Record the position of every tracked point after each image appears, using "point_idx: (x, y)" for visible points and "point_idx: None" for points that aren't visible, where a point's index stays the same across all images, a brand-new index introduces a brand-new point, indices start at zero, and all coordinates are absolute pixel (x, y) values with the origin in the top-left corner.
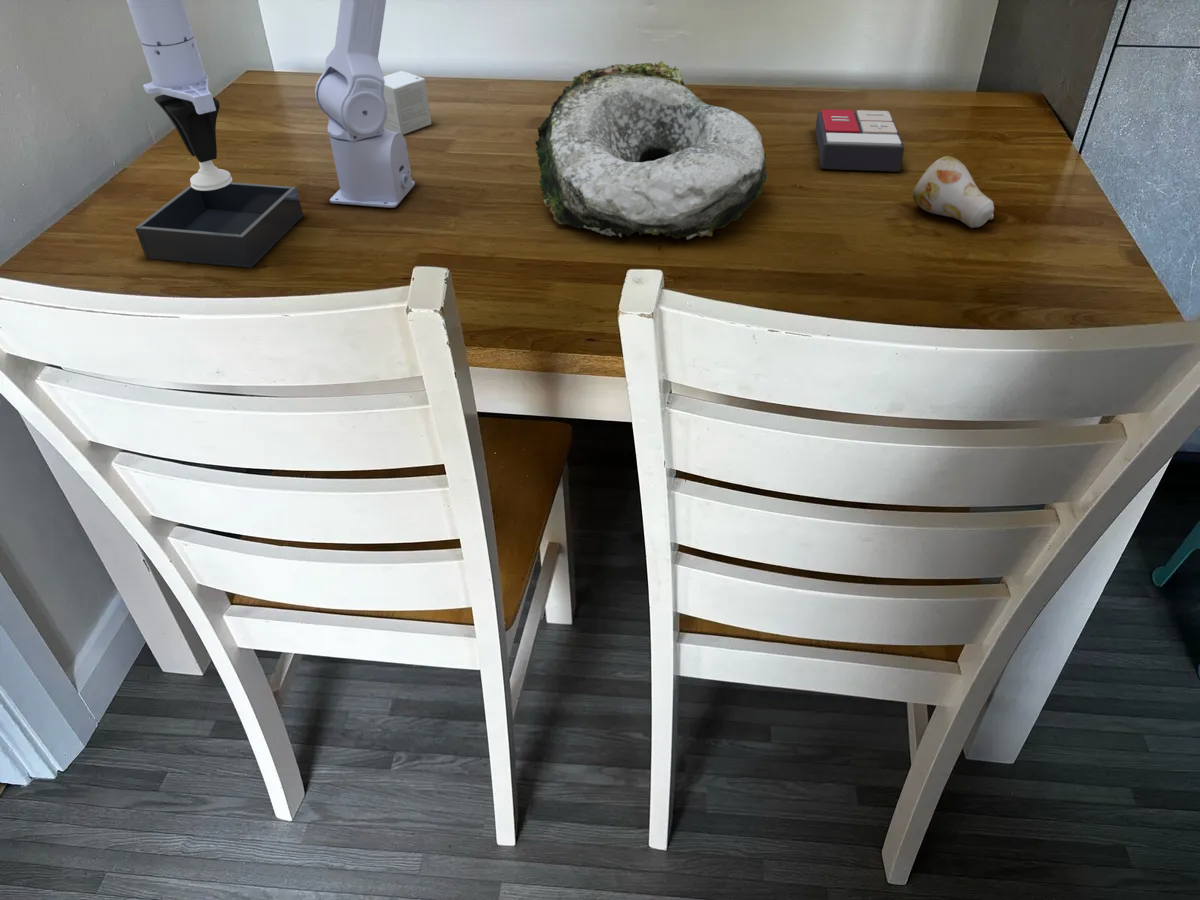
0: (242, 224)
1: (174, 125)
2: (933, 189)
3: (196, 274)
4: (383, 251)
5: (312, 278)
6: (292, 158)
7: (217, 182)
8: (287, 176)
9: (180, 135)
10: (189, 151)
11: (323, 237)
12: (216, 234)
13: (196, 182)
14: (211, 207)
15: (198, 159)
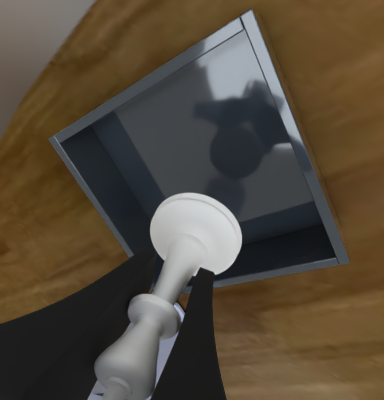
0: None
1: (210, 344)
2: None
3: (124, 50)
4: (32, 237)
5: (16, 152)
6: (354, 388)
7: (150, 228)
8: (307, 345)
9: (199, 311)
10: (201, 275)
11: (103, 234)
12: (83, 118)
13: (182, 206)
14: (318, 226)
15: (140, 251)
